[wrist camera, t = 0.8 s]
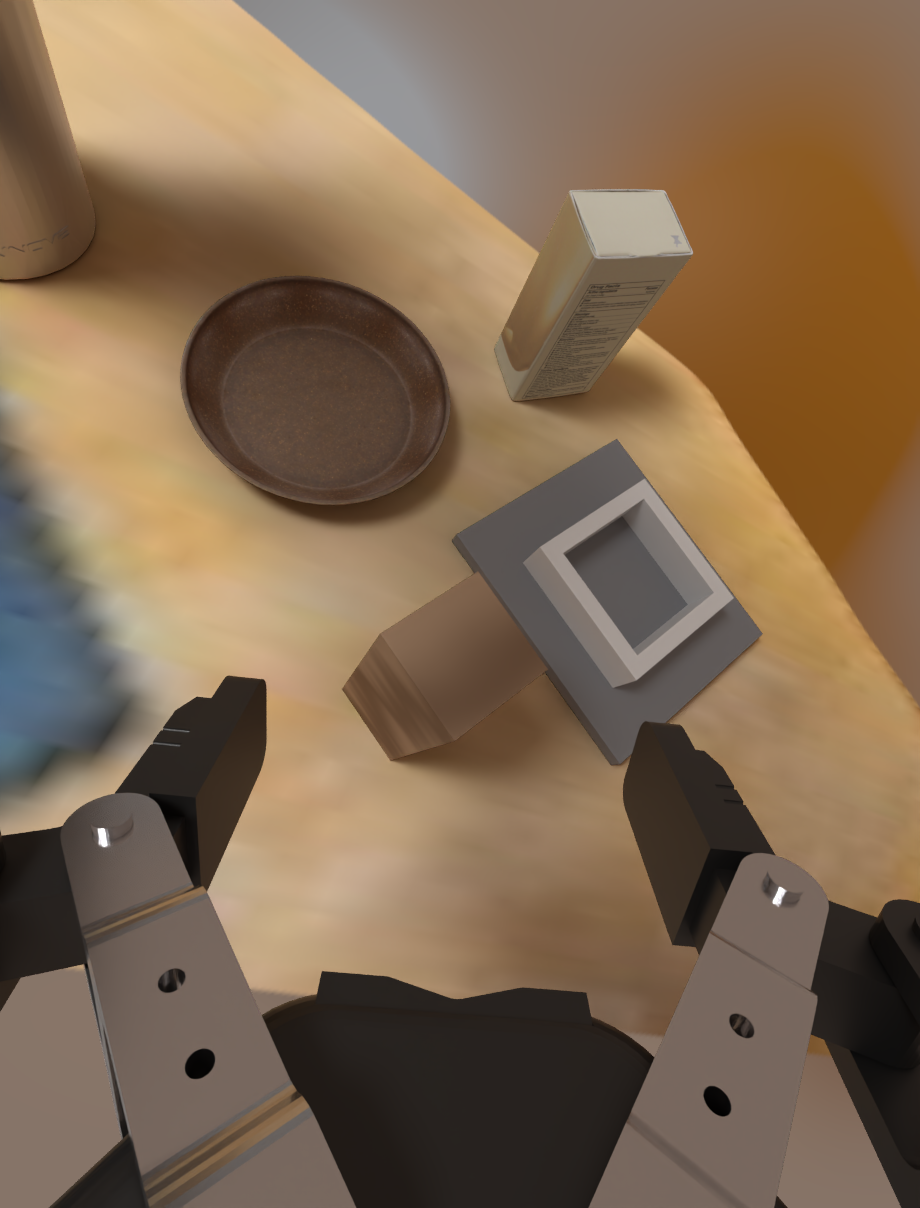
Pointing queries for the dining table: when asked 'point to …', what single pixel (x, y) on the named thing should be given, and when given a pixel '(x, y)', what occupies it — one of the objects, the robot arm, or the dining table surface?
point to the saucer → (315, 390)
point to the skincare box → (590, 290)
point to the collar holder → (610, 595)
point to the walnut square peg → (441, 670)
